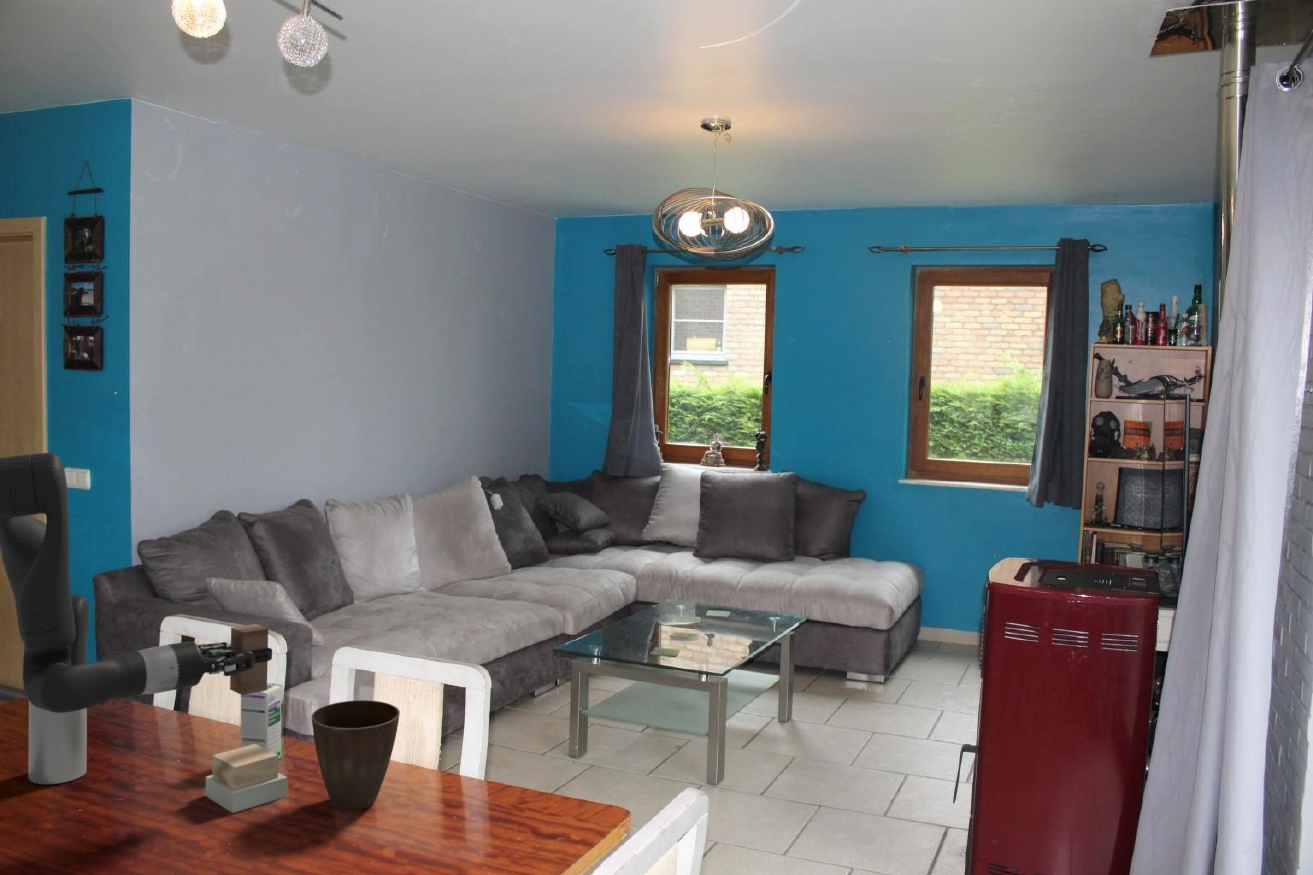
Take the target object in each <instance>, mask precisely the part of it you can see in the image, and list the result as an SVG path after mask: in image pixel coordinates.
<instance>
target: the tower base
mask: <svg viewBox="0 0 1313 875" xmlns="http://www.w3.org/2000/svg"><path fill="white" fill-rule="evenodd" d="M205 797H207V798H208V799H210V800H211V801H212V802H215V803H216V804H217V805H219V806H221V807H223V808H224V809H225V810H227V811H229V812H230V813H232V814H234V813H238V812H241V811H244V810H248V809H250V808H253V807H258V806H261V805H263V804H264V805H265V804H268V803H271V802H274V801H278V800H280V799H284V798H287V797H288V777H287V776H286V775H284V774H282V773H280V772H278V777H277V778H274V779H271V780H267V781H264V782H261V783H257V784H254V785H251V786H247V787H244V788H241V789H237V790H234V789H232V788H230V787H229V786H227V785H225V784H223V783H222V782H220V781H218V780H216V779H214V778H213V777H212V774H210V775H207V776H205Z"/></svg>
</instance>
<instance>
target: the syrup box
mask: <svg viewBox="0 0 1313 875" xmlns="http://www.w3.org/2000/svg"><path fill="white" fill-rule="evenodd" d="M253 744H257V745H259V746H261V747H263V748H265V749H267V750H269V751H271V752H273V753H275V754H277V755H278V760H280V759H281V758H283V757H284V685H283V684H280V683H279V684H278V683H271V682H267V690H266V691H261V692H256V693H251V694H246V695H241V694H240V748H241V747H245V746H249V745H253Z"/></svg>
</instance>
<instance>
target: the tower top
mask: <svg viewBox="0 0 1313 875" xmlns="http://www.w3.org/2000/svg"><path fill="white" fill-rule="evenodd" d="M211 766H212V774H211V775H212V777H213V778H214V779H216V780H218V781H220V782H222V783H223V784H225V785H227V786H229V787H230V788H232V789H234V790H237V789H241V788H244V787H247V786H251V785H254V784H257V783H261V782H264V781H267V780H271V779H274V778H277V777H278V773H279V759H278V755H277V754H275V753H273V752H271V751H269V750H267V749H265V748H263V747H261V746H259V745H257V744H253V745H249V746H245V747H241V746H240V747H238V748H234V749H231V750H227V751H223V752H219V753H215V754H212V765H211Z"/></svg>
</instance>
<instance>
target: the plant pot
mask: <svg viewBox="0 0 1313 875" xmlns="http://www.w3.org/2000/svg"><path fill="white" fill-rule="evenodd" d="M400 715H401V712H400V710H399V708H398V707H397V706H395V705H393V704H390V703H388V702H383V701H378V700H368V699H367V700H363V699H361V700H359V699H357V700H348V701H347V700H346V701H338V702H334V703H330V704H327V705H324V706H322V707H318V709H315V711H313V712H312V714H311V725H312V733H313V740H314V745H315V751H316V752H315V753H316V756H317V757H316V758H317V760H318V765H319V770H320V773H321V777H322V780H323V783H324V786H325V790H326V793H327V795H328V798H329V800H330V803H331V805H332V806H333V807H334V808H335V809H338V810H342V811H359V810H363V809H366V808H369V807H371V806H372V805H373V804H374V803H375V802H376V800H377V797H378V795H379V793H380V790H381V788H382V785H383V783H384V780H385V778H386V774H387V771H388V768H389V765H390V762H391V757H392V754H393V750H394V747H395V743H396V742H395V741H396V737H397V731H398V727H399V721H400V720H399V719H400Z"/></svg>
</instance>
